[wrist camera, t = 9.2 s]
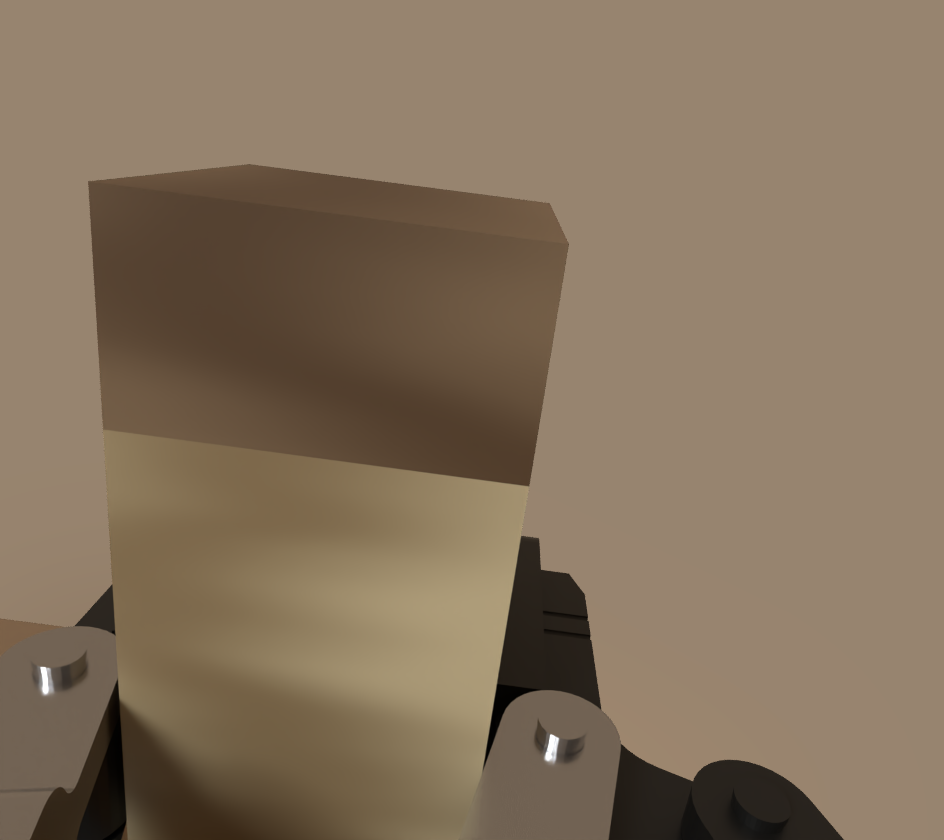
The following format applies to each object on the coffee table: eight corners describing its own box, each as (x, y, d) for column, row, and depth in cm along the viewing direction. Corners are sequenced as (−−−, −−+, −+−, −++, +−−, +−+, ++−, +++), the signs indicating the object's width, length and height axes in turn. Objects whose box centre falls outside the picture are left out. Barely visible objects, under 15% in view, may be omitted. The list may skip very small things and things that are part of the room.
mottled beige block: (421, 1050, 15) (549, 203, 9) (392, 1323, 11) (569, 244, 6) (238, 1024, 15) (250, 164, 9) (154, 1288, 11) (88, 182, 6)
